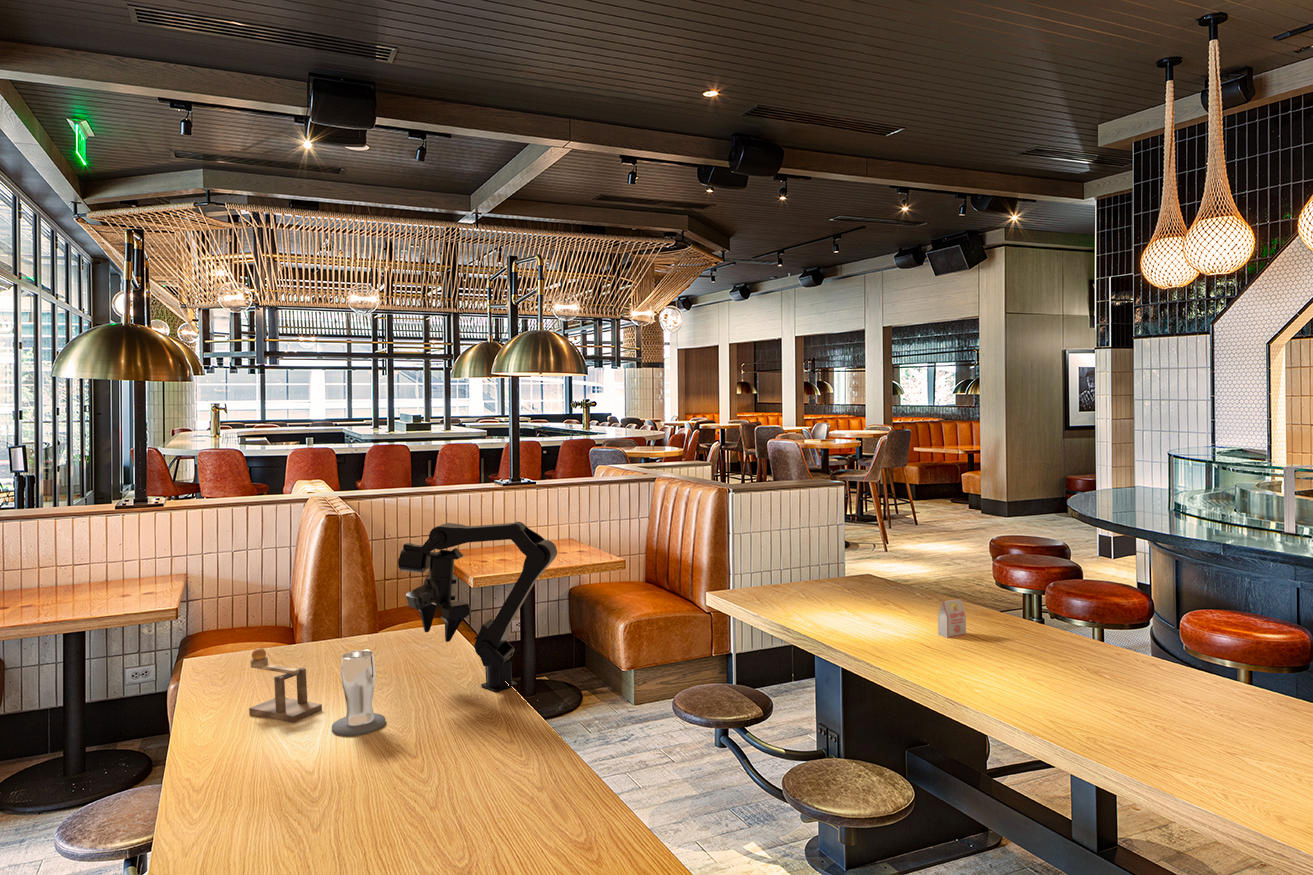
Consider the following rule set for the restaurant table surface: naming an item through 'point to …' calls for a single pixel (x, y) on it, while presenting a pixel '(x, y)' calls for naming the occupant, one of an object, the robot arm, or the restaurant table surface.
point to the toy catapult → (283, 693)
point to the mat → (344, 730)
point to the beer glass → (358, 686)
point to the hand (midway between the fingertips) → (437, 636)
